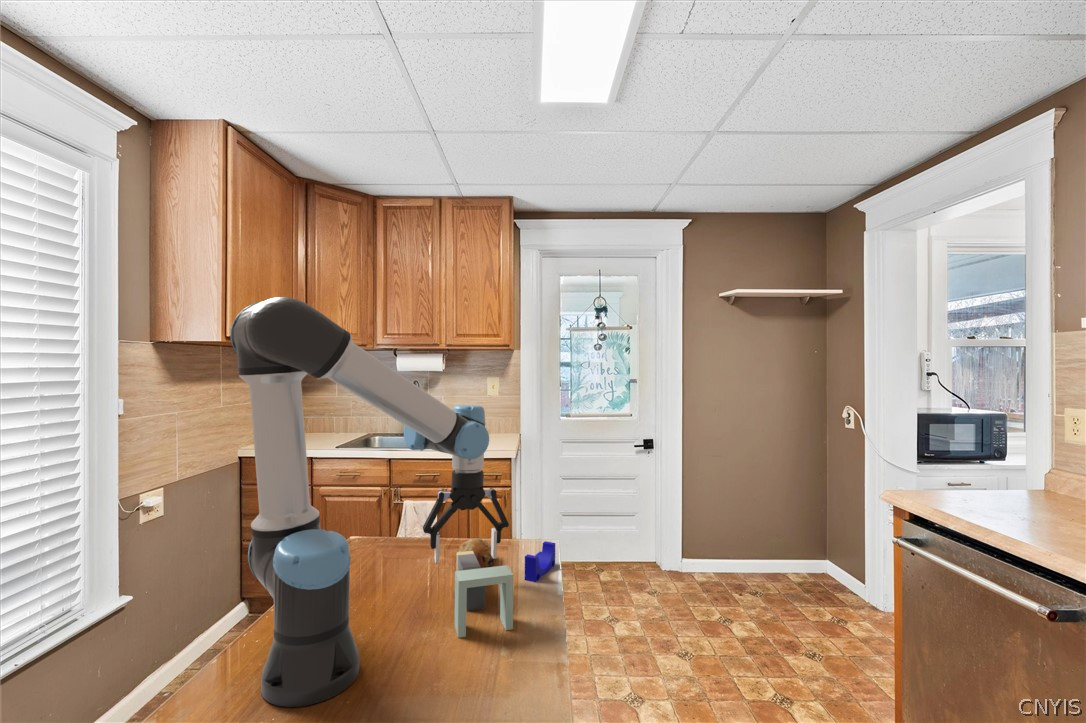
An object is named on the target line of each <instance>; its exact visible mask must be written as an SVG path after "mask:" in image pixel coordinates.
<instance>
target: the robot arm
mask: <svg viewBox="0 0 1086 723" xmlns="http://www.w3.org/2000/svg"><path fill="white" fill-rule="evenodd" d="M230 342H231V344H232V348H233V349H234V351H235V352H236V354H237V356H236V357H237V367H238V377H239V378H240V379H242V380H243V381H244V382H245V383H247V385H248V387H249V397H250V409H251V421H252V424H251V425H252V435H253V447H254V458H255V459H254V460H255V461H254V462H255V473H256V488H257V498H258V499H257V500H258V512H259V513H258V515H256V517H255V518H254V519H253V520H252V521H251V523H250V531H251V533H250V534H251V541H250V543H249V545H248V549H247V550H248V552H247V560H248V565H249V569H250V571H251V573H252V575H253V576H254V577H255V579H257V580H258V581H259V583H260V584H261V585H262V586H263V587H264V589H265V590H266V591H267V592H268V593H269V594H270V596H271V597H272V600H273V638H272V639H273V640H272V644H271V647H270V649H269V652H268V655H267V658H266V661H265V663H264V666H263V669H262V673H261V678H260V694H261V696H262V697H263V699H264V700H265V701H266V702H267V703H270V704H271V705H274V706H276V707H277V706H278V707H283V708H284V707H285V708H297V707H305V706H311V705H314V704H315V705H316V704H317V703H320V702H323V701H327V700H329V699H331V698H333V697H335V696H337V695H339V694H341V693H342V692H344V691H345V690H347V689H348V688H349V687H350V686H351V685H352V684H353V683H354V682H355V680H356V679H357V678H358V676H359V672H360V653H359V650H358V647H357V644H356V641H355V639H354V636H353V633H352V629H351V628H350V616H349V615H350V578H351V577H350V572H351V571H350V570H351V568H350V566H351V561H352V560H351V553H350V545H349V542H348V540H347V539H346V537H345V536H344V535H343V534H341V533H339V532H336V531H334V530H329V531H327V530H326V529H322V528H321V517H320V510H318V509H317V508H316V507H314V506H313V505H311V498H310V483H309V470H308V457H307V455H308V454H307V442H306V432H305V431H306V429H305V418H304V403H303V388H302V387H303V386H302V381H303V379H304V378H305V377H306V376H307V375H309V376H311V377H313V378H315V379H317V380H322V379H328V380H330V381H331V382H333V383H335V384H336V385H338V386H340V387H341V388H343V389H345V390H346V391H348V392H350V393H351V394H353V395H355V396H356V397H358V398H360V399H361V400H363V401H365V402H366V403H368V404H369V405H371V406H372V407H375V408H376V409H378V410H379V411H381V412H383V413H384V414H386V415H388V416H389V417H391V418H393V419H394V420H395V421H398V422H399V423H401V424H402V425H404V426H403V441H404V442H405V445H406V447H407V448H408V449H409V450H411V451H426V450H432V451H437V452H439V453H442V454H443V453H444V454H449V455H451V456H452V460H451V468H452V470H453V471H451V488H450V491H443V490H441V489H440V490H438V492H437V496H436V497H437V498H436V501H435V503H434V504H433V507H432V508H431V511H429V514H428V515H427V518H426V521H425V522H424V524H423V526H422V530H423V533H424V534H429V535H430V537H429V538H430V540H429V543H430V548H431V549H432V550H434V563H435V564H436V565H439V564H440V546H441V545H440V544H441V542H440V539H441V535H440V530H441V529H442V528H443V527H444V525H445V524H446V523H447V522H448V521H449V520H450V519H451V517H452V516H453V514H455V513H456V512H457V510H460V511H466V510H471V511H473V510H474V511H475V509H477V508H478V509H479V510H480V511H481V512H482V513H483V515H484V516H485V517H486V518H487V520H488V521H489V522H490V523H491V525H493V527H491V538H490V540H491V541H490V542H491V543H490V546H491V556H492V557H493V559H497V545H498V544H501V541H502V531H503V529H504V528H508V527H509V526H510V523H509V521H508V520H507V519H508V518H507V517H506V515H505V514H504V513H505V512H504V510H503V509H502V506H501V505H500V502H499V501H498V494H497V491H496V488H494V487H490V488H489V489H484V475H485V474H484V473H485V472H484V471H483V469H484V466H485V464H484V463H485V453H486V451H487V449H488V447H489V444H490V434H489V431H488V430H487V427H486V414H485V412H486V411H485V408H484V407H483V406H481V405H477V404H475V405H474V404H459V405H458V404H456V405H455V406H454V407H453V409H452V408H451V407H449V406H447V405H446V404H445V403H443V402H441V401H440V400H438V399H437V398H436V397H434V396H433V395H431V394H430V393H429V392H426V391H425V390H424V389H422V388H420V387H419V386H418V385H416V384H415V383H413V382H412V381H410V380H409V379H408V378H406V377H405V376H403V375H401V373H399V372H398V371H396V370H394V369H393V368H391V367H390V366H388V365H387V364H386V363H384V362H383V361H381V360H379V359H378V358H377V357H375V356H373V355H372V354H371V353H369V352H368V351H366V350H365V349H363V348H362V347H361V346H359V345H357V344H356V343H355V342H353V334H352V333H350V332H349V331H347V330H346V329H344V328H343V327H341V325H339V324H338V323H337V322H335V321H333V320H331V319H330V317H328V316H326V315H325V314H323V313H322V312H321V311H320V310H317V309H316V308H314V307H313V306H311V305H310V304H308V303H306V302H305V301H303V300H300V299H297V298H293V297H289V296H288V297H287V296H276V297H271V298H268V299H266V300H264V301H263V300H262V301H257V302H255V303H252V304H250V305H248V306H246V307H245V308H243V309H242V310H240V312H239V313H238V314H237V315H236V317H235V318H234V320H233V322H232V324H231V328H230ZM485 496H487V498H488V499H490V501H491V503H492V505H493V507H494V510H495V512H496V514H497V516H498V518H499V519H500V521H499V522H498V520H497V519H496V518H495V517H494V516H493V514H492V513H491V512H490V511H489V510H488V509H487V507H485V506H484V504H483V503H482V501H483V499H484V498H485ZM447 499H450V501H452V502H451V503H450V504H449V505H448V507H447V509H446V510H445V511H444V512H443V513H442V514H441V516H440V517H439V518H438V519H437V517H438V515H439V512H440V511H441V508H442V507H443V503H444V502H446V501H447ZM436 519H437V520H436ZM435 520H436V522H435ZM433 523H434V524H433Z"/></svg>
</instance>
